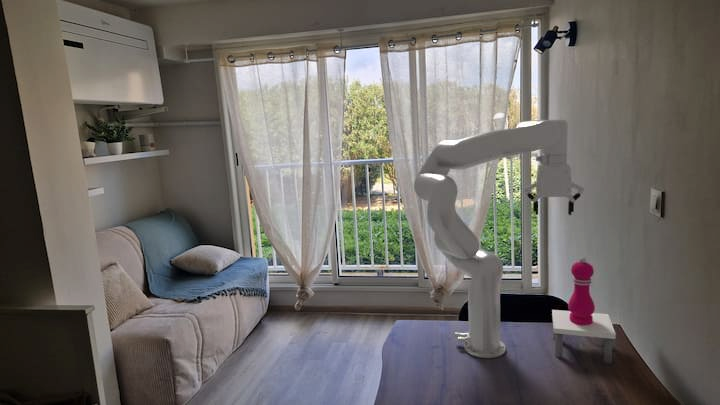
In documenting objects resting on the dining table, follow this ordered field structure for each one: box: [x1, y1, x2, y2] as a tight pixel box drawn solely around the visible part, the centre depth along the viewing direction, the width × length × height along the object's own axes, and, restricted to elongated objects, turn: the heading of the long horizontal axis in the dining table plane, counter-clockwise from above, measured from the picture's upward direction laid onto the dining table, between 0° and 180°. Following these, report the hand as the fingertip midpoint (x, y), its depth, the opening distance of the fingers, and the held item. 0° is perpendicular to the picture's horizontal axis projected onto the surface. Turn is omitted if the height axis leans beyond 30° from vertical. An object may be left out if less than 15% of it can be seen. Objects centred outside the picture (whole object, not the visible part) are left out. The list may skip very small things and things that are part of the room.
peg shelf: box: [551, 309, 617, 365], centre depth 139 cm, size 16×14×10 cm
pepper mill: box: [567, 256, 596, 325], centre depth 137 cm, size 7×7×20 cm
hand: (553, 214), depth 145 cm, fingers open, 9 cm apart
